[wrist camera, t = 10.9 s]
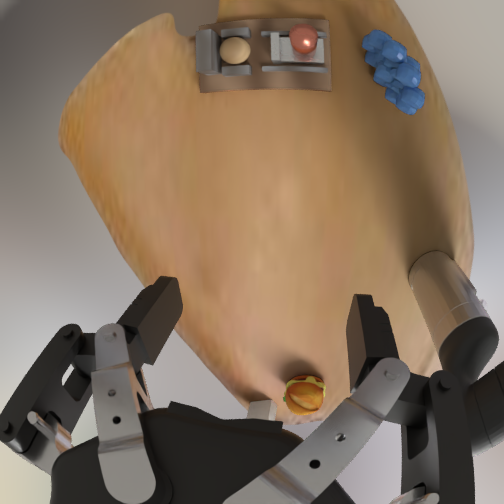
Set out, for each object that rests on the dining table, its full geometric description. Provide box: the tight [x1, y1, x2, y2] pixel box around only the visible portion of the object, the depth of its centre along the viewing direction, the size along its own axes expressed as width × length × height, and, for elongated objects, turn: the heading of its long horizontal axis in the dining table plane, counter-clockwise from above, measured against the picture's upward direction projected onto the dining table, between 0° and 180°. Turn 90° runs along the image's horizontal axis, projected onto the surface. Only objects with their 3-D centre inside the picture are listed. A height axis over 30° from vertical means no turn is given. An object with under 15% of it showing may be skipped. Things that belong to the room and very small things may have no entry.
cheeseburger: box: [283, 375, 326, 415], centre depth 57 cm, size 10×11×10 cm
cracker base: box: [196, 18, 331, 93], centre depth 28 cm, size 18×11×6 cm, turn 92°
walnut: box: [219, 37, 251, 64], centre depth 28 cm, size 4×4×4 cm
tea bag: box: [246, 399, 277, 421], centre depth 65 cm, size 4×7×10 cm, turn 119°
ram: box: [271, 24, 324, 65], centre depth 25 cm, size 6×4×8 cm, turn 91°
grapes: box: [362, 30, 425, 115], centre depth 23 cm, size 12×7×12 cm, turn 27°
